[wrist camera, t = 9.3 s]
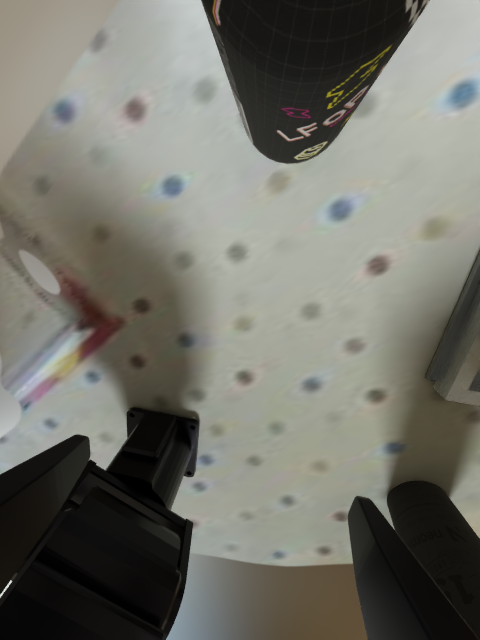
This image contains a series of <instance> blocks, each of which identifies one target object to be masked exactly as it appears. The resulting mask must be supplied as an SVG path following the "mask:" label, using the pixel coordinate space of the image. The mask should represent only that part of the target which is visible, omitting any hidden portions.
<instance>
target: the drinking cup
mask: <svg viewBox="0 0 480 640" xmlns="http://www.w3.org/2000/svg"><path fill="white" fill-rule="evenodd" d="M387 505H388V508H389V512H390V515H391V518H392V522H393V525H394V528H395V531H396V533H397V534H398V535H399V537H400V538H401V539H402V540H403V542H404V543H405V544H406V546H407V547H408V548H409V549H410V551H411V552H412V553H413V555H414V556H415V557H416V559H417V560H418V561H419V562H420V564H421V565H422V566H423V568H424V569H425V570H426V571H427V573H428V574H429V575H430V577H431V578H432V579H433V580H434V582H435V583H436V584H437V586H438V587H439V588H440V590H441V591H442V592H443V593H444V595H445V596H446V597H447V599H448V600H449V601H450V602H451V604H452V605H453V606H454V608H455V609H456V610H457V611H458V613H459V614H460V615H461V617H462V618H463V619H464V621H465V622H466V623H467V624H468V626H469V627H470V628H471V630H472V631H473V632H474V633H475V635H476V636H477V637H478V639H479V640H480V539H479V537H478V536H477V535H476V533H475V532H474V531H473V529H472V528H471V527H470V525H469V524H468V522H467V521H466V520H465V518H464V517H463V516H462V514H461V513H460V512H459V510H458V509H457V508H456V506H455V505H454V504H453V502H452V501H451V500H450V498H449V497H448V496H447V494H446V493H445V492H444V491H443V490H442V489H441V488H440V487H438V486H437V485H435V484H432V483H429V482H423V481H413V482H407V483H404V484H401V485H399V486H397V487H396V488H394V489H393V490H392V491H391V492H390V494H389V496H388V499H387Z"/></svg>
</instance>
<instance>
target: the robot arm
mask: <svg viewBox="0 0 480 640" xmlns="http://www.w3.org/2000/svg"><path fill="white" fill-rule="evenodd" d="M192 425H194V426H192ZM198 436H199V422H198V421H197V420H194V419H189V418H184V417H179V416H174V415H169V414H164V413H159V412H154V411H149V410H144V409H139V408H130V409H129V411H128V412H127V437H128V438H127V440H126V441H125V443H124V444H123V446H122V447H121V449H120V450H119V452H118V453H117V455H116V456H115V457H114V459H113V460H112V462H111V463H110V465H109V466H108V468H107V469H106V470H104V469H102V468H100V467H99V466H97V465H96V463H95V462H94V461H92V460H89V458H90V442H89V438H88V437H87V436H83V435H74V436H72V437H70V438H68V439H66V440H64V441H62V442H61V443H59V444H57V445H55V446H53V447H51V448H49V449H47V450H46V451H44V452H42V453H40V454H38V455H36V456H34V457H32V458H30V459H29V460H27V461H25V462H23V463H21V464H19V465H17V466H15V467H13V468H12V469H10V470H8V471H6V472H4V473H2V474H0V594H1V593H2V591H3V590H4V589H5V587H6V586H7V584H8V583H9V581H10V580H12V583H11V584H10V585H9V587H8V588H7V590H6V591H5V592H4V594H3V595H2V596H1V598H0V640H166V638H167V636H168V634H169V632H170V630H171V628H172V626H173V624H174V621H175V619H176V616H177V614H178V611H179V608H180V604H181V601H182V598H183V594H184V589H185V584H186V577H187V570H188V561H189V553H190V545H191V537H192V529H193V522H191V521H190V520H188V519H186V520H185V519H184V518H182V517H180V516H179V515H177V514H175V513H174V512H172V511H171V508H172V505H173V503H174V500H175V497H176V495H177V492H178V489H179V486H180V484H181V481H182V478H183V476H186V477H193V476H194V474H195V471H196V460H197V448H198ZM348 525H349V533H350V541H351V549H352V558H353V566H354V573H355V580H356V586H357V591H358V595H359V600H360V605H361V610H362V615H363V620H364V624H365V629H366V634H367V638H368V640H479V639H478V637H477V636H476V635H475V633H474V632H473V631H472V630H471V628H470V627H469V626H468V624H467V623H466V622H465V621H464V619H463V618H462V617H461V615H460V614H459V613H458V611H457V610H456V609H455V608H454V606H453V605H452V604H451V602H450V601H449V600H448V599H447V597H446V596H445V595H444V593H443V592H442V591H441V590H440V588H439V587H438V586H437V584H436V583H435V582H434V580H433V579H432V578H431V577H430V575H429V574H428V573H427V571H426V570H425V569H424V568H423V566H422V565H421V564H420V562H419V561H418V560H417V559H416V557H415V556H414V555H413V553H412V552H411V551H410V549H409V548H408V547H407V546H406V544H405V543H404V542H403V540H402V539H401V538H400V537H399V535H398V534H397V533H396V531H395V530H394V529H393V528H392V526H391V525H390V524H389V522H388V521H387V520H386V518H385V517H384V516H383V515H382V513H381V512H380V511H379V509H378V508H377V507H376V506H375V504H374V503H373V502H372V501H371V500H370V499H369V498H366V497H361V496H356V497H355V499H354V501H353V503H352V506H351V508H350V510H349V513H348Z"/></svg>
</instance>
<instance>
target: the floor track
mask: <svg viewBox="0 0 480 640" xmlns="http://www.w3.org/2000/svg"><path fill="white" fill-rule="evenodd" d="M425 377H426V378H427V379H428V380H432V381H435V383H434V385H433V388H434V389H435V390H436V391H437V392H438V393H439V394H440V395H441V396H442V397H443V398H444V399H445V400H448V401H454V402H459V403H465V404H470V405H476V406H480V252H479V255H478V257H477V259H476V262H475V264H474V266H473V268H472V271H471V273H470V275H469V278H468V280H467V282H466V284H465V287H464V289H463V291H462V294H461V296H460V298H459V300H458V303H457V305H456V307H455V310H454V312H453V314H452V316H451V319H450V321H449V323H448V326H447V328H446V330H445V332H444V335H443V337H442V339H441V342H440V344H439V346H438V348H437V351H436V353H435V355H434V358H433V360H432V362H431V365H430V367H429V369H428V371H427V374H426V376H425Z"/></svg>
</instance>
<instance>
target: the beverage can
mask: <svg viewBox="0 0 480 640" xmlns="http://www.w3.org/2000/svg"><path fill="white" fill-rule="evenodd" d="M201 1H202V4H203V7H204V9H205V12H206V15H207V18H208V21H209V24H210V27H211V30H212V33H213V36H214V39H215V42H216V45H217V48H218V51H219V54H220V56H221V59H222V62H223V65H224V68H225V71H226V74H227V77H228V80H229V83H230V86H231V89H232V92H233V95H234V98H235V101H236V104H237V106H238V109H239V112H240V115H241V118H242V121H243V124H244V127H245V130H246V132H247V135H248V137H249V139H250V140H251V142H252V144H253V145H254V146H255V147H256V148H257V149H258V151H259V152H260V153H262V154H263V155H264V156H266V157H267V158H269V159H271V160H273V161H276V162H279V163H284V164H297V163H301V162H305V161H308V160H310V159H312V158H314V157H316V156H318V155H319V154H320V153H322V152H323V151H324V150H326V149H327V148H328V147H329V146H330V145H331V143H332V142H333V141H334V140H335V139H336V137H337V136H338V134H339V133H340V132H341V130H342V129H343V127H344V126H345V124H346V123H347V121H348V120H349V118H350V117H351V115H352V114H353V113H354V111H355V110H356V108H357V107H358V105H359V104H360V102H361V101H362V99H363V98H364V96H365V95H366V93H367V92H368V91H369V89H370V88H371V86H372V85H373V83H374V82H375V80H376V79H377V77H378V76H379V74H380V73H381V72H382V70H383V69H384V67H385V66H386V64H387V63H388V61H389V60H390V58H391V57H392V55H393V54H394V52H395V51H396V50H397V48H398V47H399V45H400V44H401V42H402V41H403V39H404V38H405V36H406V35H407V33H408V32H409V31H410V29H411V28H412V26H413V25H414V23H415V22H416V20H417V19H418V17H419V16H420V14H421V13H422V11H423V10H424V8H425V7H426V5H427V4H428V2H429V1H430V0H201Z"/></svg>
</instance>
